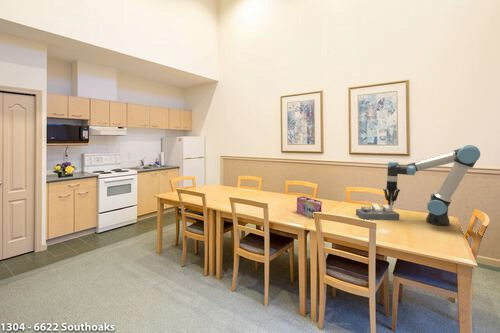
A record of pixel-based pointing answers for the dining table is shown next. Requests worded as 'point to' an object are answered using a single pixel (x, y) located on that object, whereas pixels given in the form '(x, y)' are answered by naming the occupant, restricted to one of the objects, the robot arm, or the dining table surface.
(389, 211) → the switch
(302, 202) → the gum box
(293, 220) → the dining table surface
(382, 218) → the console
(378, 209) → the switch
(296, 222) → the dining table surface
